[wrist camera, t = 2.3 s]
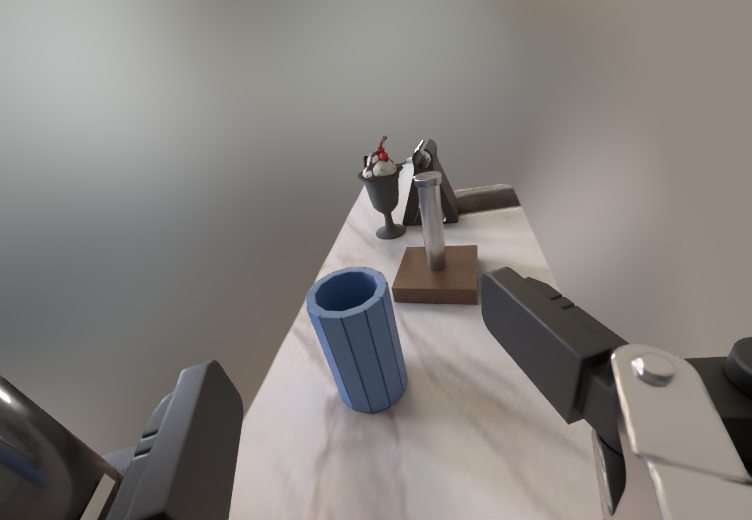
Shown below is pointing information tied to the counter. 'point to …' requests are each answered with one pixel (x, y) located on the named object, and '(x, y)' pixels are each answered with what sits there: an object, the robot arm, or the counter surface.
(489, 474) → the counter surface
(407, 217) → the phone stand
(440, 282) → the wooden base post
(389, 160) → the sundae
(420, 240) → the counter surface
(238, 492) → the counter surface
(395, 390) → the blue sleeve
